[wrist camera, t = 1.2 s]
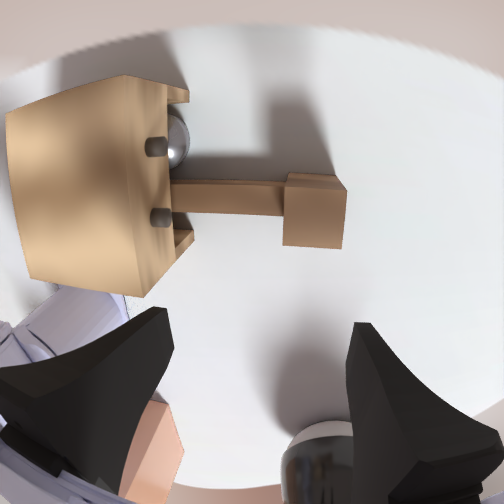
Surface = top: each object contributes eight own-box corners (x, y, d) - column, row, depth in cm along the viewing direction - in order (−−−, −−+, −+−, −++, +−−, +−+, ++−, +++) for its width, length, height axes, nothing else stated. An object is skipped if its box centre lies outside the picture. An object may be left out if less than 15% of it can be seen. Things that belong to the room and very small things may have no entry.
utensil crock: (184, 452, 35) (156, 527, 23) (113, 431, 36) (78, 494, 24) (168, 404, 30) (124, 498, 18) (87, 380, 32) (35, 453, 20)
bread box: (204, 241, 21) (157, 300, 14) (95, 235, 23) (30, 278, 16) (200, 89, 17) (140, 71, 10) (83, 108, 19) (5, 113, 12)
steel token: (192, 168, 20) (185, 171, 19) (141, 170, 20) (133, 173, 19) (190, 111, 18) (184, 110, 17) (138, 116, 19) (130, 116, 18)
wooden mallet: (332, 220, 20) (341, 249, 15) (117, 212, 22) (78, 234, 17) (338, 113, 17) (351, 107, 12) (111, 121, 19) (66, 125, 14)
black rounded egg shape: (395, 418, 26) (412, 542, 12) (340, 459, 30) (337, 563, 17) (317, 394, 26) (309, 546, 12) (269, 441, 30) (247, 556, 16)
